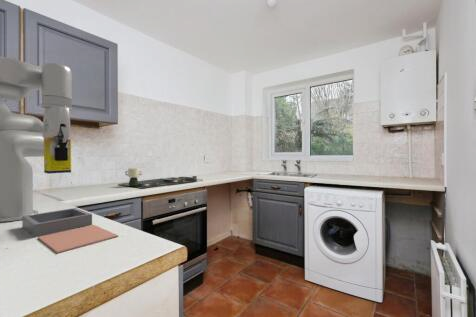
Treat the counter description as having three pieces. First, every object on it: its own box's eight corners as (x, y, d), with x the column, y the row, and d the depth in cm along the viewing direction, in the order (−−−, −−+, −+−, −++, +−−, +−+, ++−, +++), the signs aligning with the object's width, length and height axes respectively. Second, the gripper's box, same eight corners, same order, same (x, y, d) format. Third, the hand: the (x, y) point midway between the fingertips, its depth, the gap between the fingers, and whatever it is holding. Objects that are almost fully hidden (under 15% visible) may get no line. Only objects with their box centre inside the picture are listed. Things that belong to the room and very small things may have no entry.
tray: (22, 227, 73) (22, 216, 73) (75, 217, 84) (75, 207, 84) (35, 237, 64) (35, 224, 64) (92, 224, 76) (92, 214, 76)
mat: (37, 238, 63) (37, 236, 63) (93, 225, 75) (93, 224, 75) (57, 253, 54) (57, 251, 54) (118, 236, 65) (118, 235, 65)
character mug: (142, 185, 172) (142, 168, 172) (141, 186, 165) (141, 168, 165) (126, 185, 169) (126, 168, 168) (124, 187, 162) (124, 168, 162)
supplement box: (66, 171, 78) (65, 139, 78) (71, 172, 74) (71, 139, 74) (43, 172, 74) (43, 138, 73) (48, 173, 70) (48, 137, 70)
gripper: (34, 105, 76) (34, 159, 76) (51, 98, 65) (51, 161, 66) (62, 109, 82) (62, 159, 82) (81, 103, 72) (81, 160, 72)
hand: (57, 159), depth 74 cm, fingers closed on supplement box, 6 cm apart
